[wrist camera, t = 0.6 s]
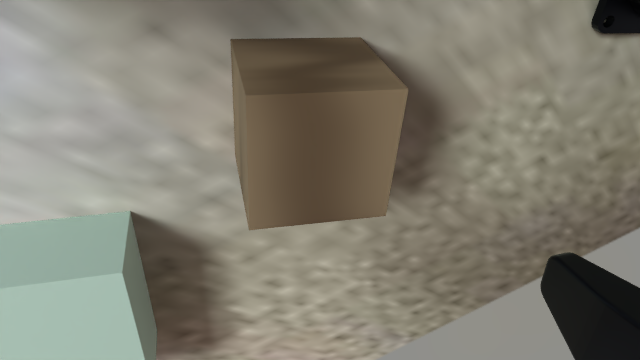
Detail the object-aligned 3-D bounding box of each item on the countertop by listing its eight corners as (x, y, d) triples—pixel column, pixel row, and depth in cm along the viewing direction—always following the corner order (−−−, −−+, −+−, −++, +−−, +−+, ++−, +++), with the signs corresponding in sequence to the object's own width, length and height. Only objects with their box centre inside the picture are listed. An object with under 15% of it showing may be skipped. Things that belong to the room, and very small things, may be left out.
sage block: (130, 207, 21) (122, 272, 18) (157, 326, 25) (154, 395, 22) (-82, 228, 19) (-133, 305, 16) (-13, 352, 24) (-42, 432, 20)
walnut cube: (359, 36, 19) (408, 89, 15) (347, 146, 22) (385, 215, 18) (230, 38, 18) (245, 95, 14) (235, 154, 20) (249, 230, 16)
